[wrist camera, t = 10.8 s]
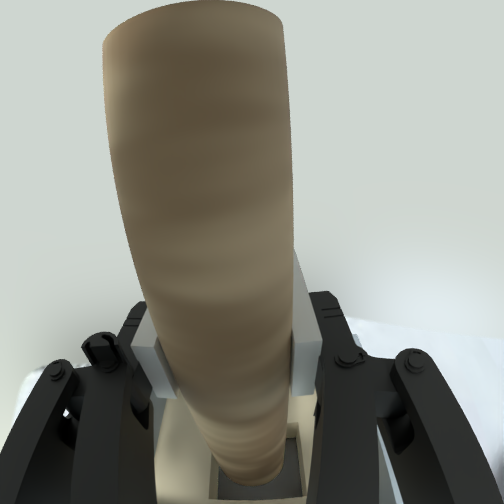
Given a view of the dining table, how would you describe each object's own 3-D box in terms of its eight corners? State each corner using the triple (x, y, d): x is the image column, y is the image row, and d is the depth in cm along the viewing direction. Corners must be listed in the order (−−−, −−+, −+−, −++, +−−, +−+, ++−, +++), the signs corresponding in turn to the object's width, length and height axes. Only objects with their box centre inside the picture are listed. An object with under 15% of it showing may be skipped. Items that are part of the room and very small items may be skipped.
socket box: (343, 383, 22) (356, 334, 19) (381, 540, 8) (421, 533, 5) (171, 392, 23) (149, 346, 20) (144, 548, 8) (96, 540, 5)
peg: (281, 433, 15) (274, 50, 6) (285, 484, 12) (296, -6, 3) (221, 435, 15) (140, 67, 6) (219, 486, 12) (66, 41, 3)
